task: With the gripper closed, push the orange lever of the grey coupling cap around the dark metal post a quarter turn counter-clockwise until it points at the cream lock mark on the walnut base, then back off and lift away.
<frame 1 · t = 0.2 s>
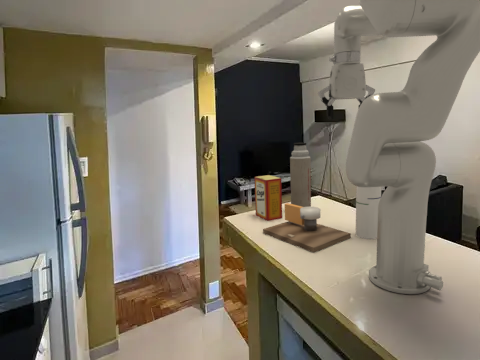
hand: (345, 118, 99), 37 cm above the worktop, tool pointing down, fingers open, 9 cm apart
coupling cap: (301, 215, 107), point 5 cm above the worktop, hinge at 0.0°
baking soda box: (268, 217, 126), on the worktop
post base: (310, 233, 105), on the worktop
cylindrical container: (367, 235, 102), on the worktop
thermos bottle: (300, 211, 131), on the worktop
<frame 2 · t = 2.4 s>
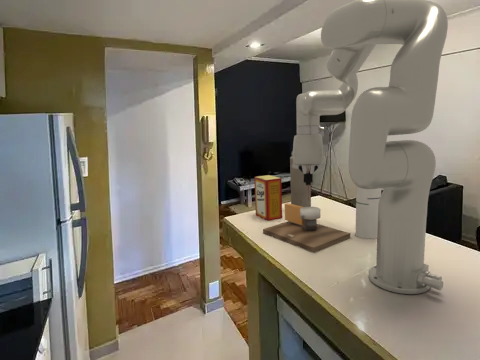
hand: (308, 184, 111), 15 cm above the worktop, tool pointing down, fingers closed
nothing on the worktop moved.
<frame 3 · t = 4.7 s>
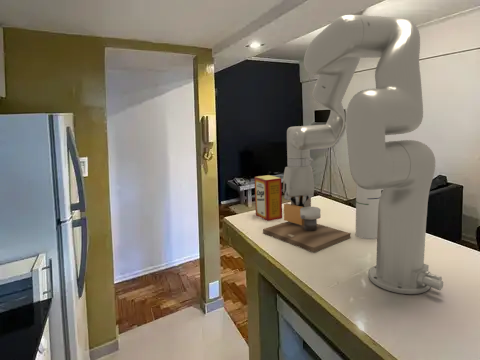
hand: (299, 214, 112), 4 cm above the worktop, tool pointing down, fingers closed
coupling cap: (301, 215, 107), point 5 cm above the worktop, hinge at 2.1°, touching gripper
everything else where it was.
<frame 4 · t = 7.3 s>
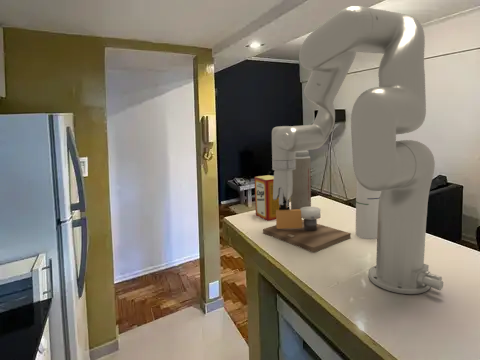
hand: (284, 218, 108), 4 cm above the worktop, tool pointing down, fingers closed
coupling cap: (298, 218, 104), point 5 cm above the worktop, hinge at 52.5°, touching gripper
everything else where it was.
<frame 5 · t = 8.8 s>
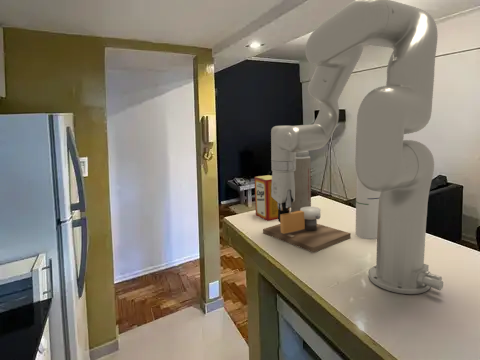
hand: (283, 221, 104), 5 cm above the worktop, tool pointing down, fingers closed
coupling cap: (300, 220, 102), point 5 cm above the worktop, hinge at 79.8°, touching gripper
everything else where it was.
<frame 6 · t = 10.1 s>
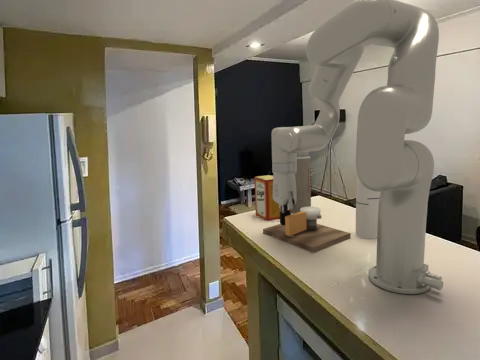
hand: (285, 224, 103), 4 cm above the worktop, tool pointing down, fingers closed
coupling cap: (302, 220, 102), point 5 cm above the worktop, hinge at 93.0°
everything else where it was.
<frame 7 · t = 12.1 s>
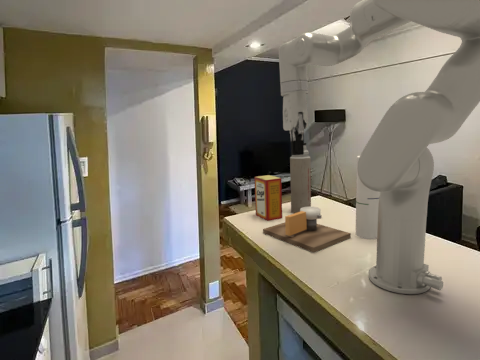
hand: (297, 154, 92), 27 cm above the worktop, tool pointing down, fingers closed
nothing on the worktop moved.
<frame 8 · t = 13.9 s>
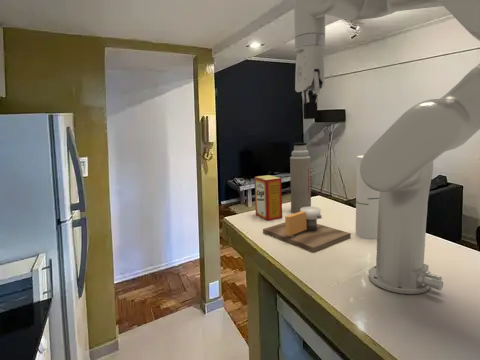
hand: (310, 118, 84), 37 cm above the worktop, tool pointing down, fingers closed
nothing on the worktop moved.
at the end: coupling cap at +93° (first picture: +0°); the gripper is holding nothing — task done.
